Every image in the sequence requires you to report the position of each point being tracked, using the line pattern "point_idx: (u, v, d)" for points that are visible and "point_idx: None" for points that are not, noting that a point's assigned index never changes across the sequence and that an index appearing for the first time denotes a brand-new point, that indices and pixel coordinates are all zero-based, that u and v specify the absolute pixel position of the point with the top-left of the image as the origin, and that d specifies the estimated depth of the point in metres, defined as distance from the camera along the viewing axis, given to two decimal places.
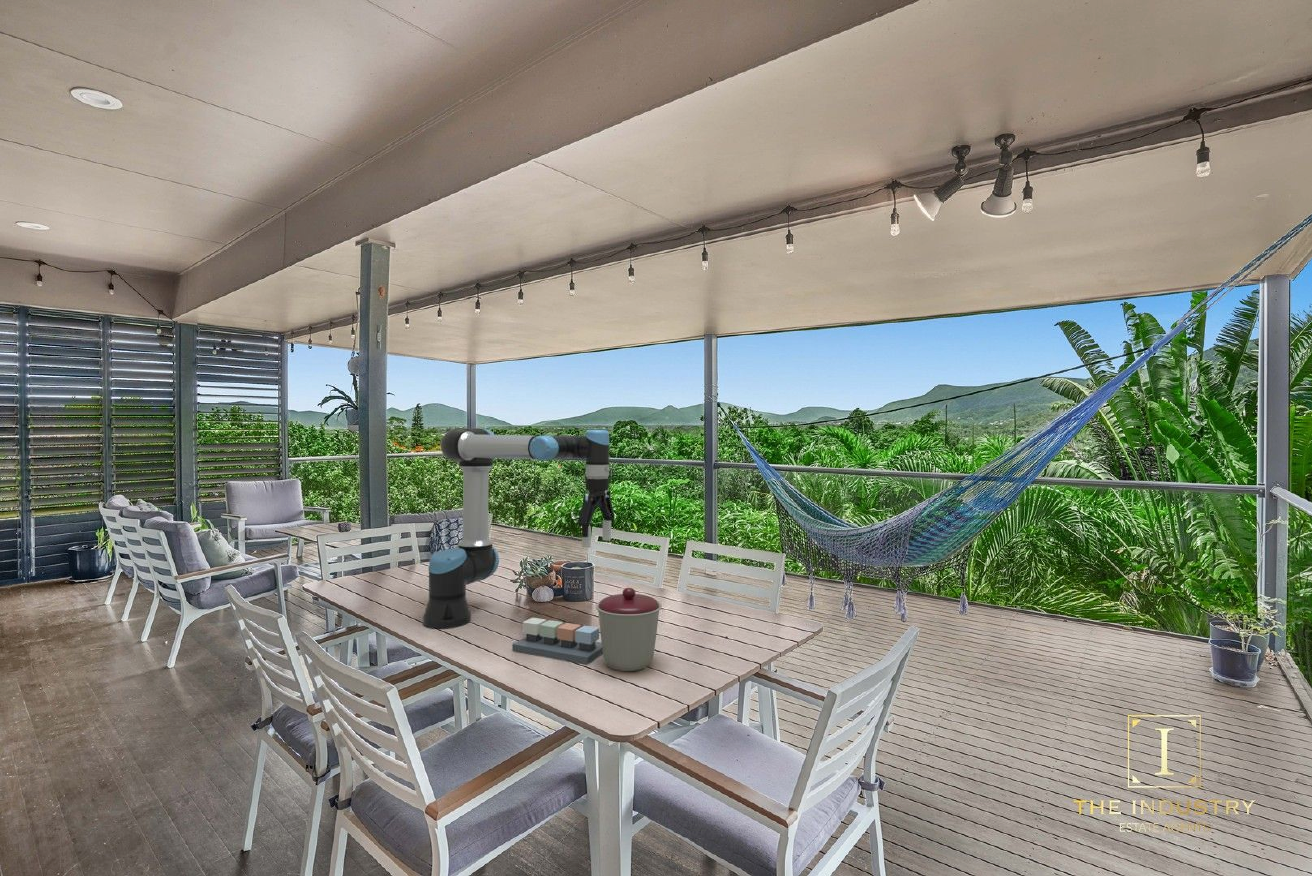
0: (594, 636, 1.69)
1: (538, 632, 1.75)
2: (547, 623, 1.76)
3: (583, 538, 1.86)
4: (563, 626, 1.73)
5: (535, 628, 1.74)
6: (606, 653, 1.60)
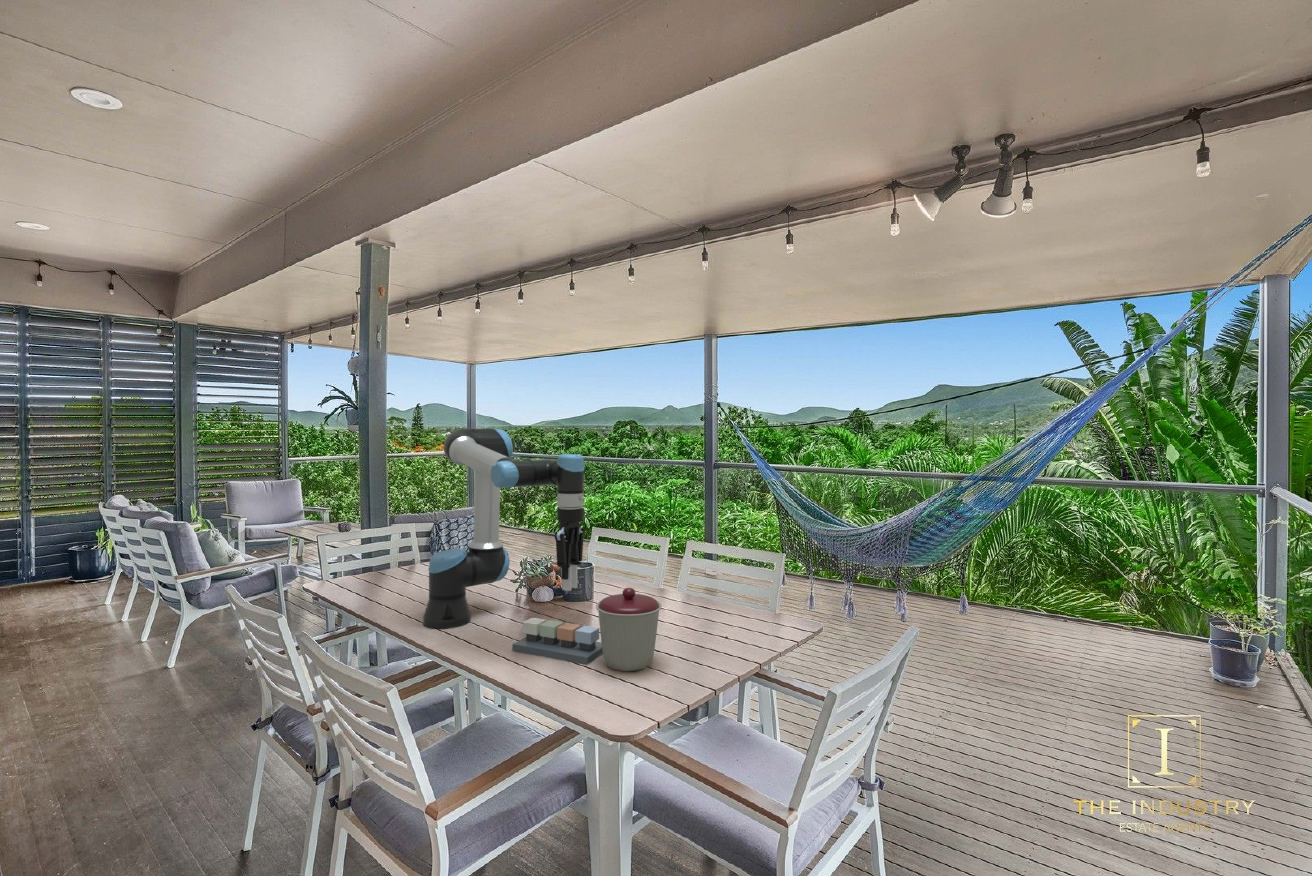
0: (594, 636, 1.69)
1: (538, 632, 1.75)
2: (547, 623, 1.76)
3: (563, 580, 1.71)
4: (563, 626, 1.73)
5: (535, 628, 1.74)
6: (606, 653, 1.60)
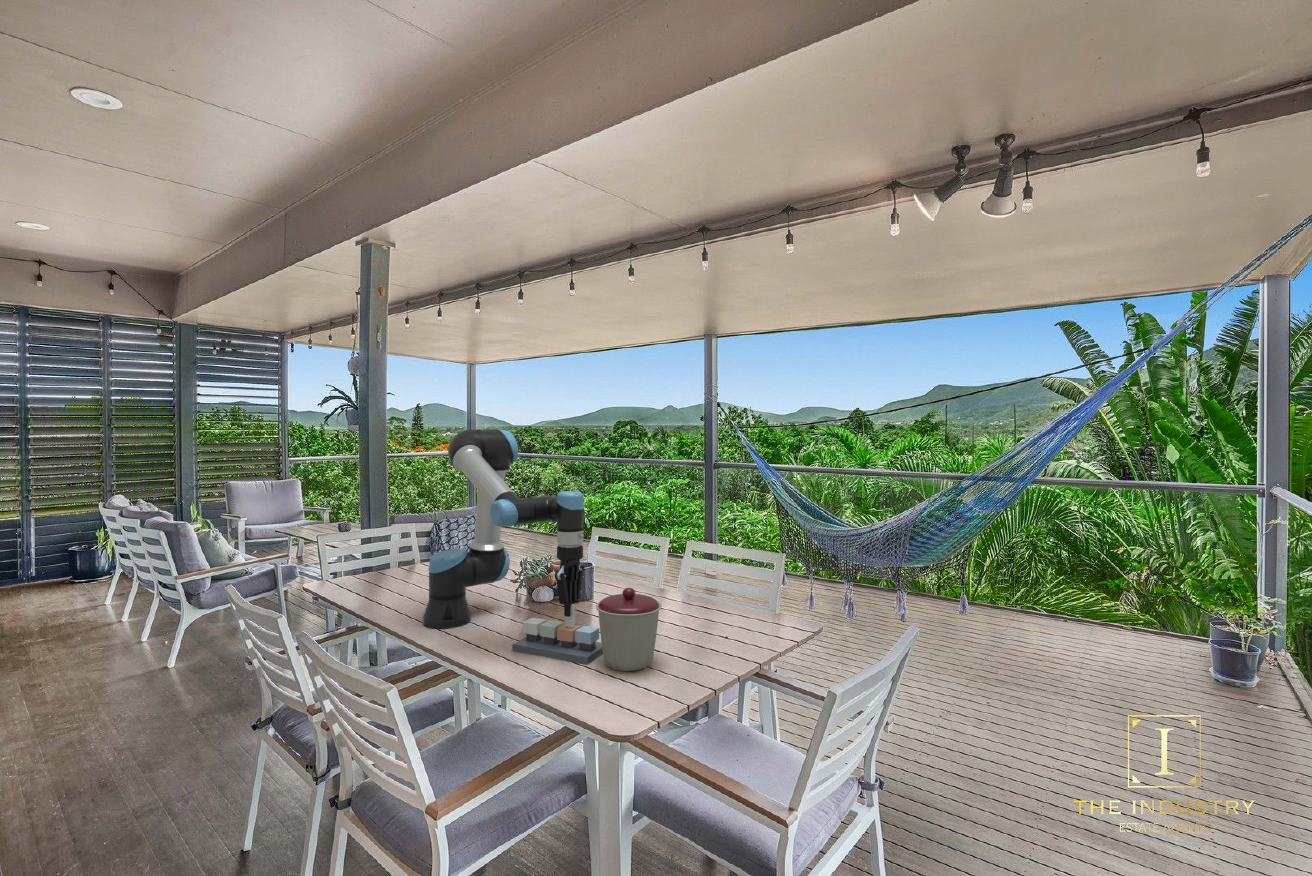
0: (594, 636, 1.69)
1: (538, 632, 1.75)
2: (547, 623, 1.76)
3: (565, 617, 1.72)
4: (563, 627, 1.73)
5: (535, 628, 1.74)
6: (606, 653, 1.60)
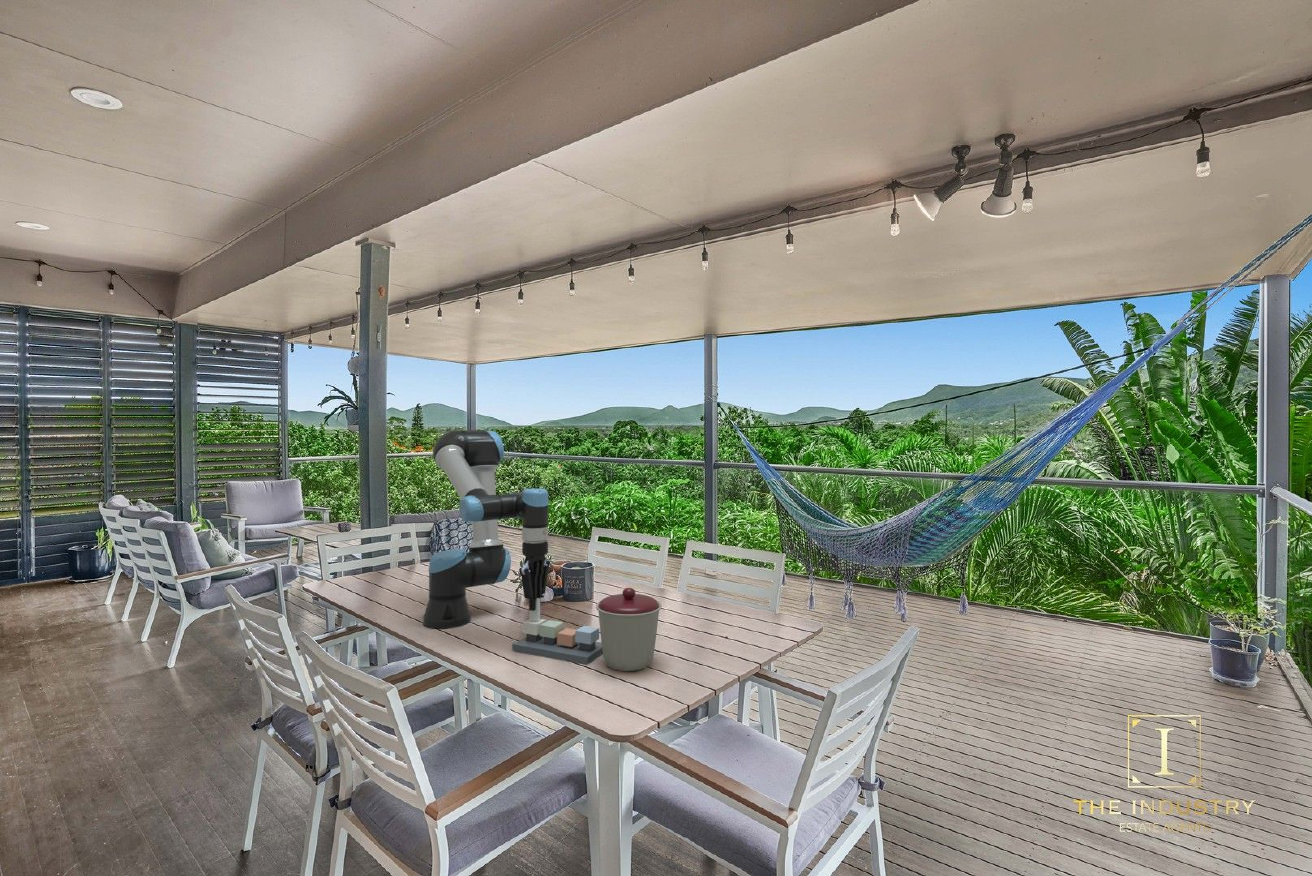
0: (594, 636, 1.69)
1: (538, 632, 1.75)
2: (547, 623, 1.76)
3: (531, 611, 1.77)
4: (563, 631, 1.73)
5: (535, 628, 1.74)
6: (606, 653, 1.60)
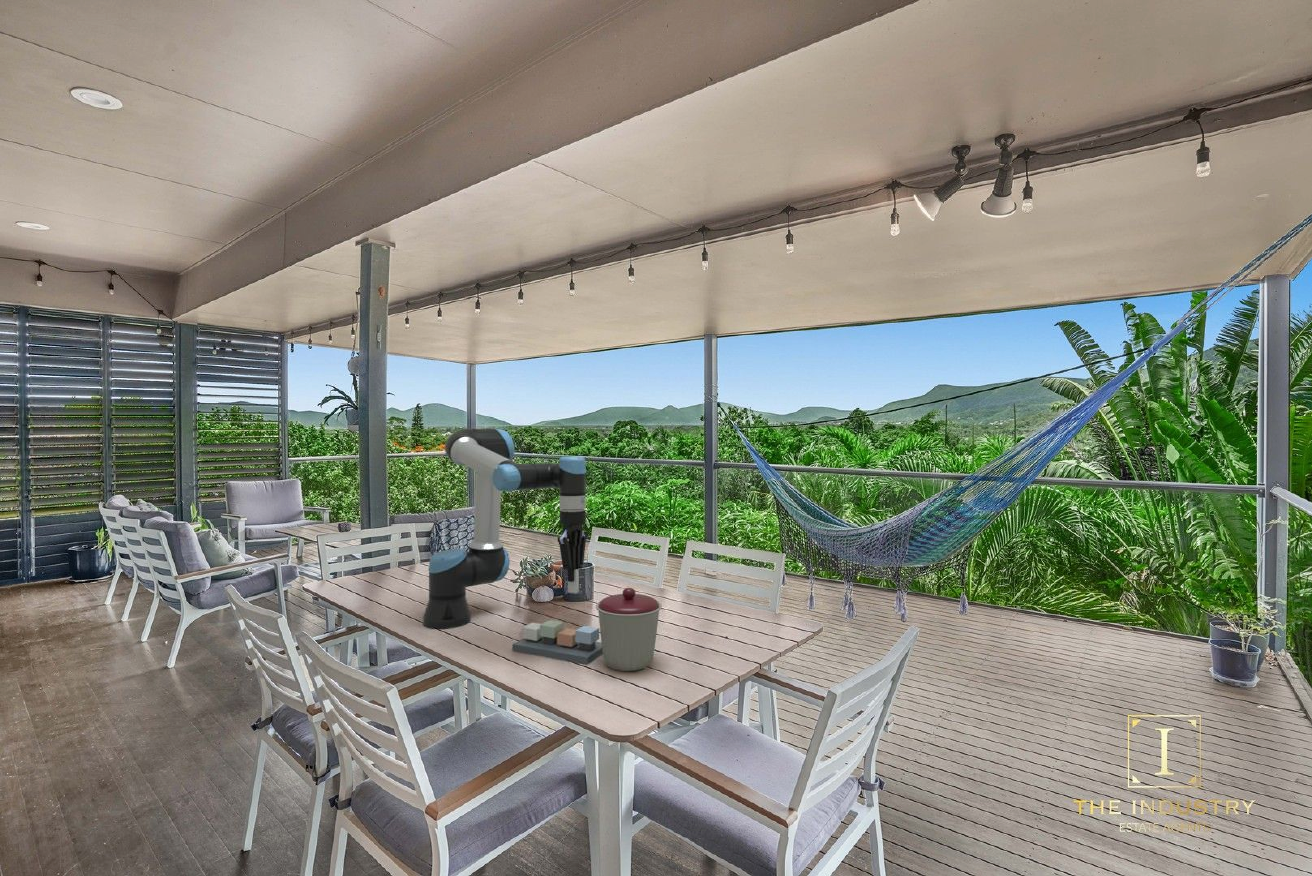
0: (594, 636, 1.69)
1: (538, 637, 1.75)
2: (547, 623, 1.76)
3: (569, 583, 1.71)
4: (563, 631, 1.73)
5: (535, 633, 1.74)
6: (606, 653, 1.60)
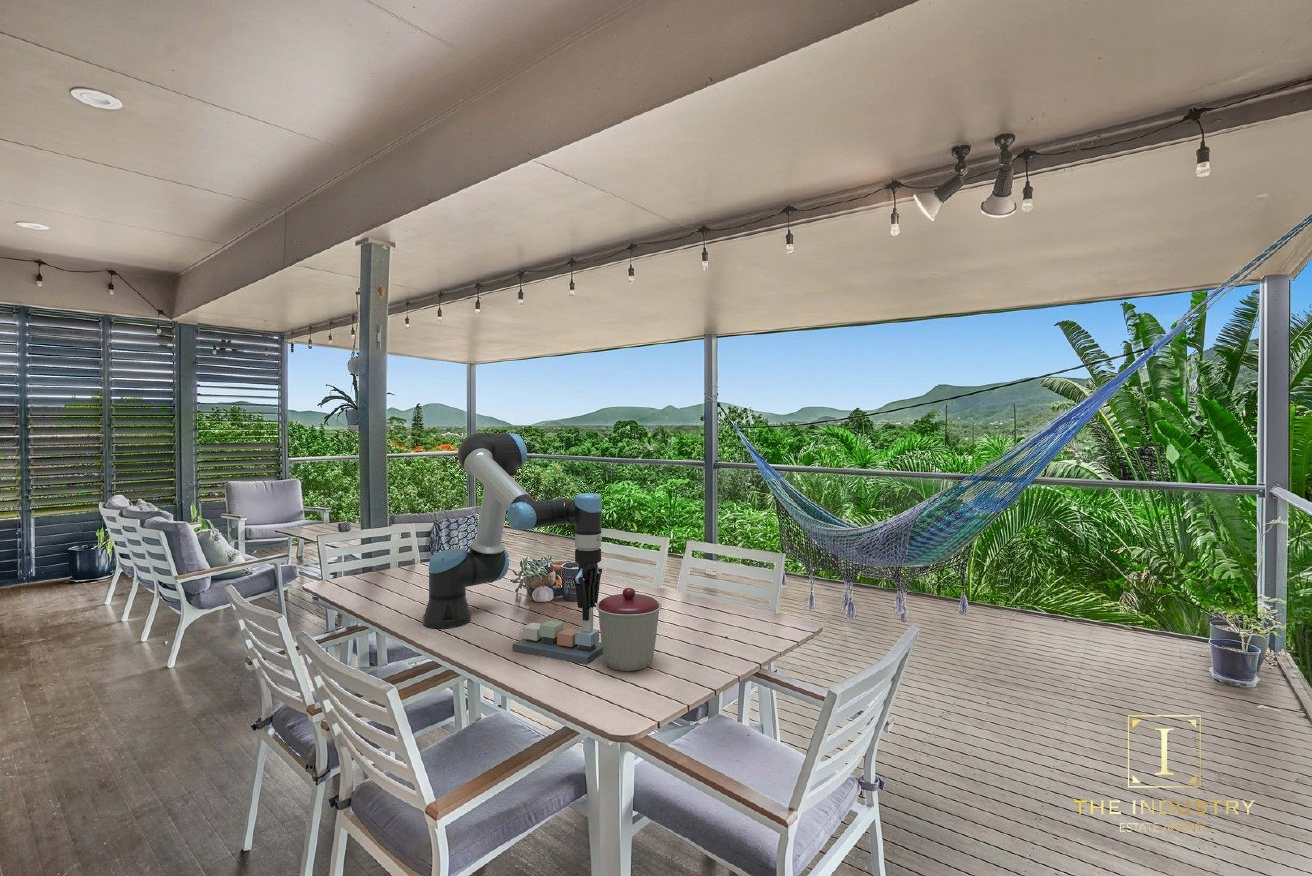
0: (594, 638, 1.69)
1: (538, 637, 1.75)
2: (547, 623, 1.76)
3: (584, 621, 1.70)
4: (563, 631, 1.73)
5: (535, 633, 1.74)
6: (606, 653, 1.60)
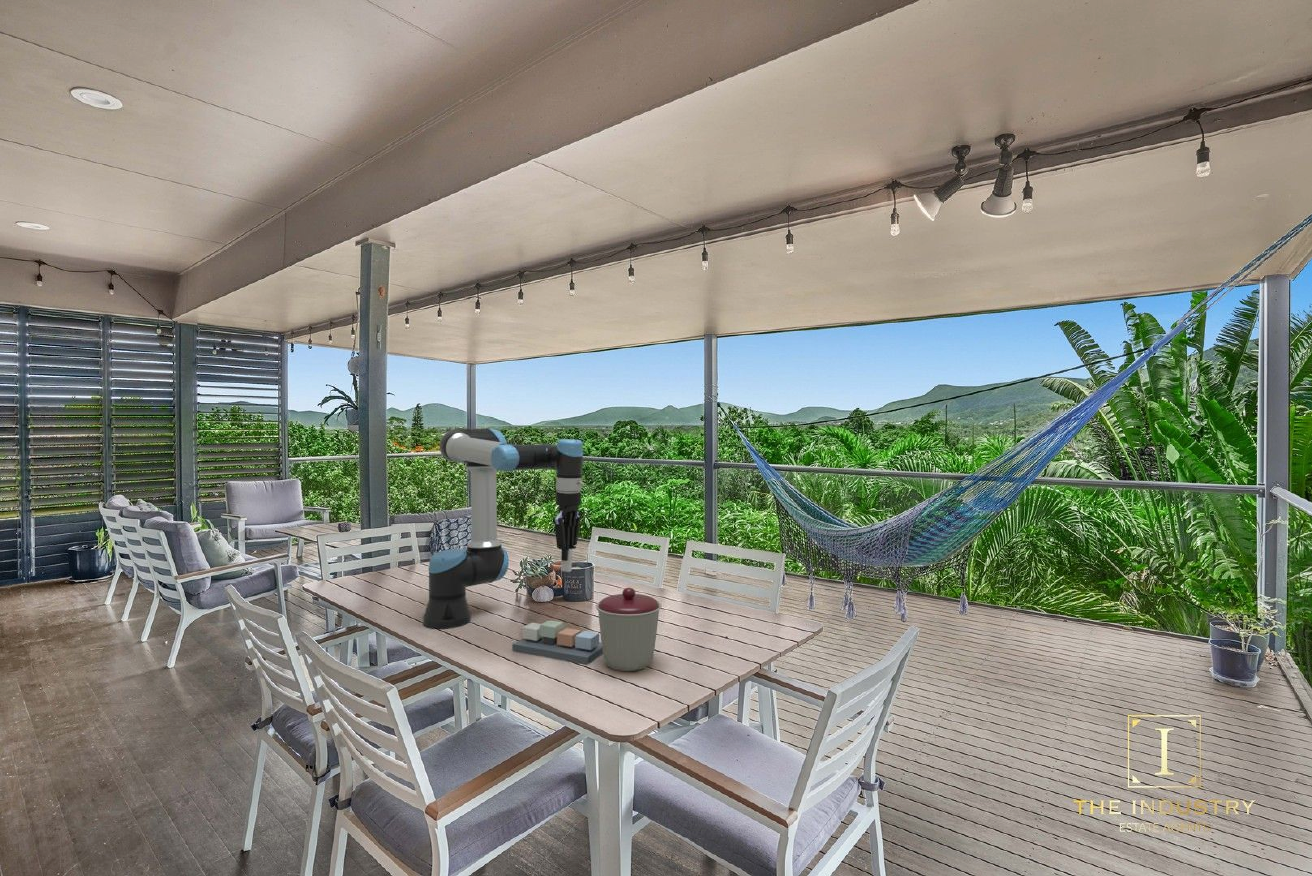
0: (594, 641, 1.69)
1: (538, 637, 1.75)
2: (547, 623, 1.76)
3: (562, 561, 1.76)
4: (563, 631, 1.73)
5: (535, 633, 1.74)
6: (606, 653, 1.60)
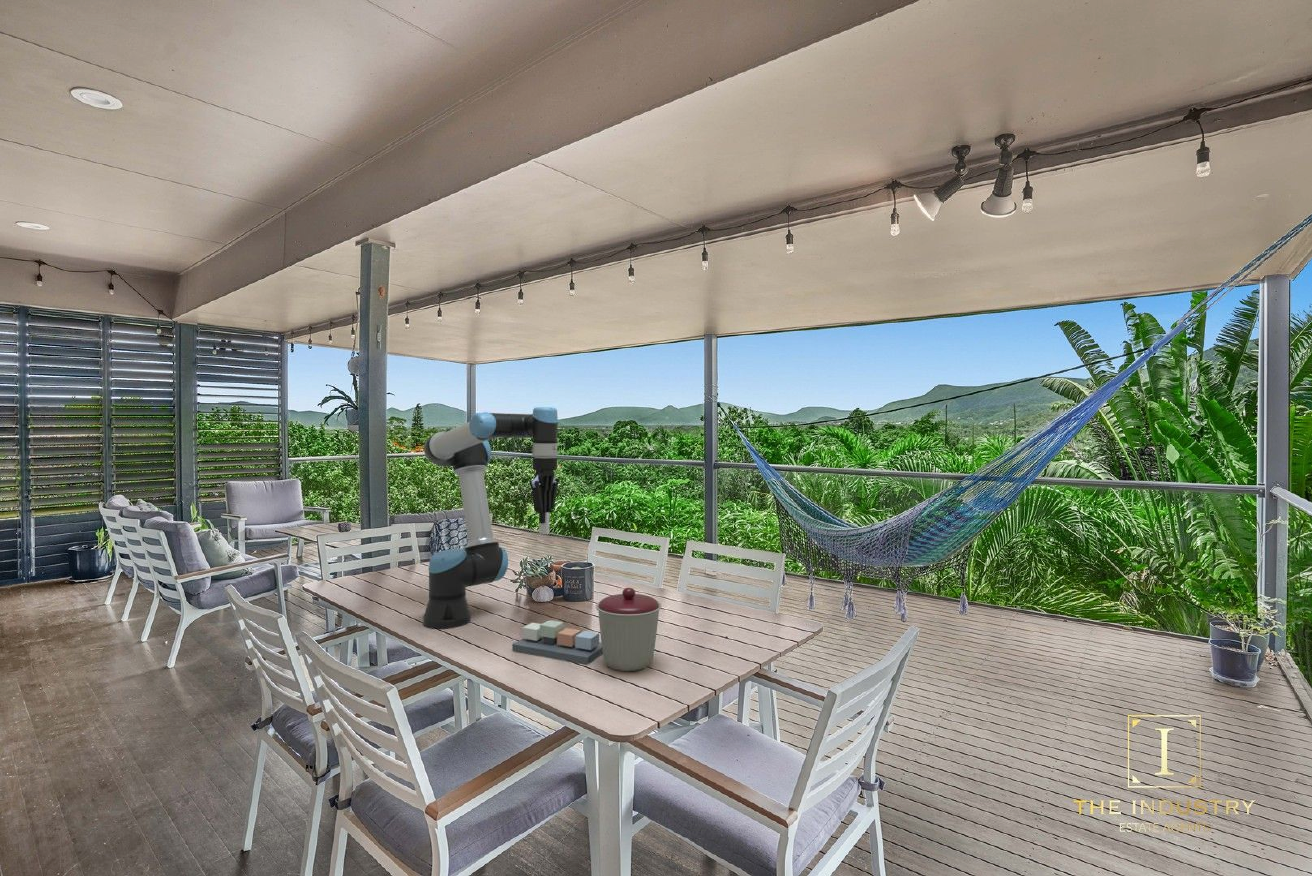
0: (594, 641, 1.69)
1: (538, 637, 1.75)
2: (547, 623, 1.76)
3: (540, 524, 1.84)
4: (563, 631, 1.73)
5: (535, 633, 1.74)
6: (606, 653, 1.60)
